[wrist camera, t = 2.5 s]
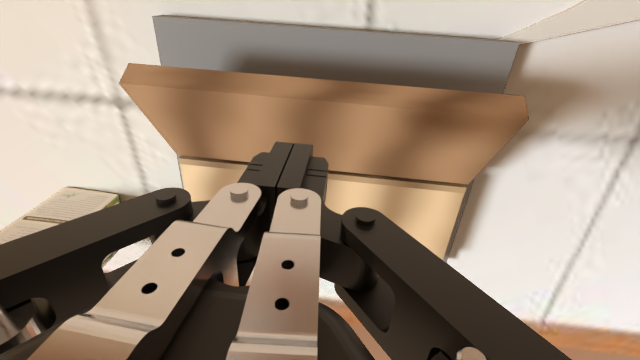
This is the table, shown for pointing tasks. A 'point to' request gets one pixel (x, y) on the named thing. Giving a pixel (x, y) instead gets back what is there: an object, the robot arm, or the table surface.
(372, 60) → the board
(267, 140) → the walnut plank
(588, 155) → the table surface
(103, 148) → the table surface
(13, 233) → the syrup box
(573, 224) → the table surface
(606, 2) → the corner molding
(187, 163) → the oak plank
